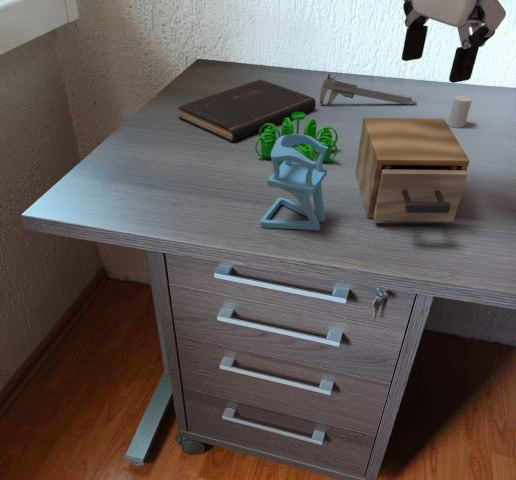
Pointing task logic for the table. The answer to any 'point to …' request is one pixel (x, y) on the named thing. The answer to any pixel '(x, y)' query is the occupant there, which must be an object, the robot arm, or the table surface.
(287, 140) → the chair
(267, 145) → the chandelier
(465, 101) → the white cylinder
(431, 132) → the cabinet
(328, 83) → the caliper
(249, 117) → the hardcover book
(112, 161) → the table surface
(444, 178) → the drawer
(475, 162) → the table surface
